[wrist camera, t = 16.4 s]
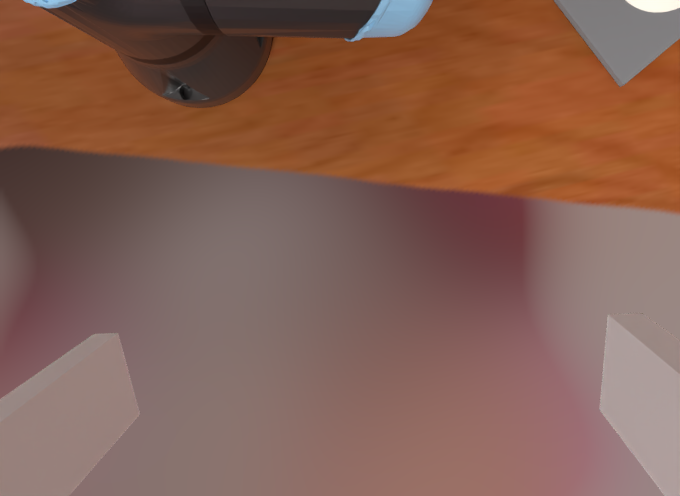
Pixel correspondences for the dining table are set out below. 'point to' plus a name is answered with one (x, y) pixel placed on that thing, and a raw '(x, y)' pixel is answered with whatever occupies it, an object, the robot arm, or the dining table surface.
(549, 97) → the dining table surface
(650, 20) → the placemat
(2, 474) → the robot arm
